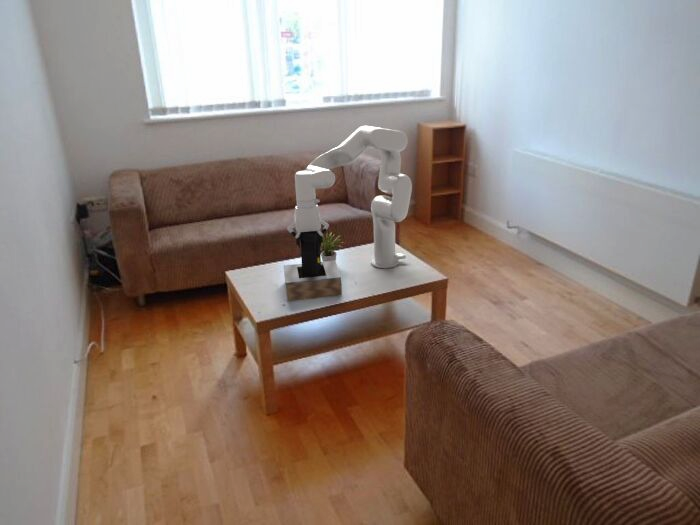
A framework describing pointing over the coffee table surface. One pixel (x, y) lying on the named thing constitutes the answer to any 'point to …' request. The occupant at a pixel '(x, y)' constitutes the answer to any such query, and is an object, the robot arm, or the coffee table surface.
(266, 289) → the coffee table surface
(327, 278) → the box
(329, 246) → the house plant
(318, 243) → the portable radio
